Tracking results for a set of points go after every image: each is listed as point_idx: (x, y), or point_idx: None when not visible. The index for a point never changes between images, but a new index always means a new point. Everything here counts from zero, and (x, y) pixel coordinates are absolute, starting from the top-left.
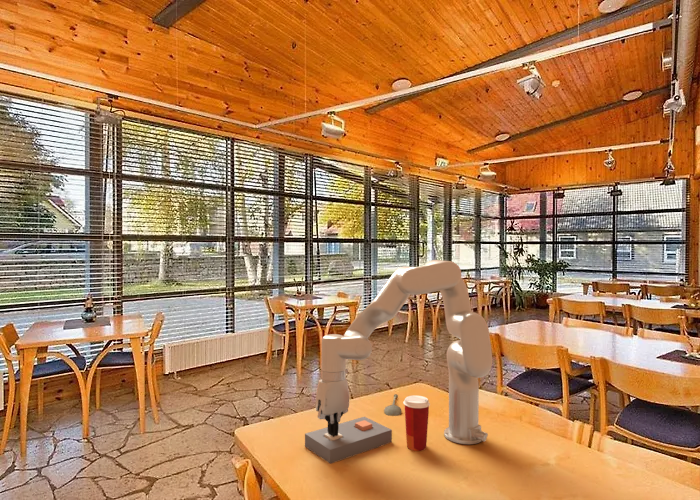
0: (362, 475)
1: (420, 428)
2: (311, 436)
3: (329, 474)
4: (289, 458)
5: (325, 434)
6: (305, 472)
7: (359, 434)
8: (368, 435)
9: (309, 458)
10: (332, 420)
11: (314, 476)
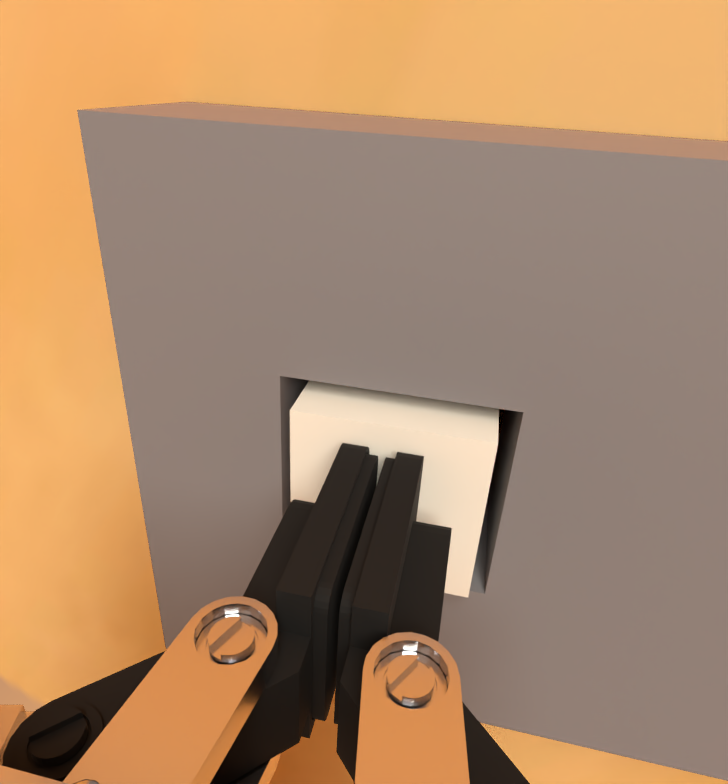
0: (316, 753)
1: None
2: (129, 282)
3: (149, 625)
4: None
5: (292, 434)
6: (15, 508)
7: (701, 679)
8: None
9: (118, 375)
10: (242, 768)
11: (54, 578)
